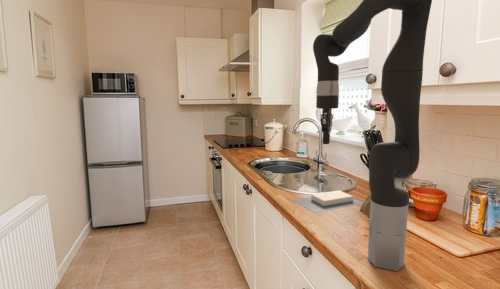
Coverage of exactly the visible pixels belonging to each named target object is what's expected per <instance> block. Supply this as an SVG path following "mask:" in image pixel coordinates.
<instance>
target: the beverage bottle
mask: <svg viewBox="0 0 500 289" xmlns="http://www.w3.org/2000/svg"><path fill="white" fill-rule="evenodd" d="M407 180H413V181H414V177H413V174H412V175H409V176H402V177H394V185H395V187H396V188H399V189H402V190H404V191H405V186H404V183H405V182H406V181H407Z"/></svg>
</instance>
